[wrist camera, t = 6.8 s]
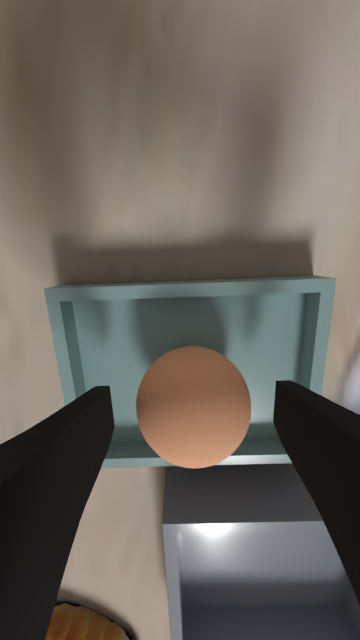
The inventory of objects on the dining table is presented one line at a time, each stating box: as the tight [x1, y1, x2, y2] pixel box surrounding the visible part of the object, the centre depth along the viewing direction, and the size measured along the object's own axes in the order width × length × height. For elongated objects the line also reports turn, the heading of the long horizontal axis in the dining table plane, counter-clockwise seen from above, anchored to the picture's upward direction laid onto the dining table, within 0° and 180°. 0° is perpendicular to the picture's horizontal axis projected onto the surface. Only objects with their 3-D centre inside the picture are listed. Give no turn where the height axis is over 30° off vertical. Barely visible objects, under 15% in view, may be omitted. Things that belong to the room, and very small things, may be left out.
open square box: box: [162, 463, 360, 640], centre depth 15 cm, size 13×13×4 cm
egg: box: [136, 346, 251, 468], centre depth 10 cm, size 5×5×5 cm
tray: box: [44, 275, 336, 468], centre depth 13 cm, size 13×10×2 cm
